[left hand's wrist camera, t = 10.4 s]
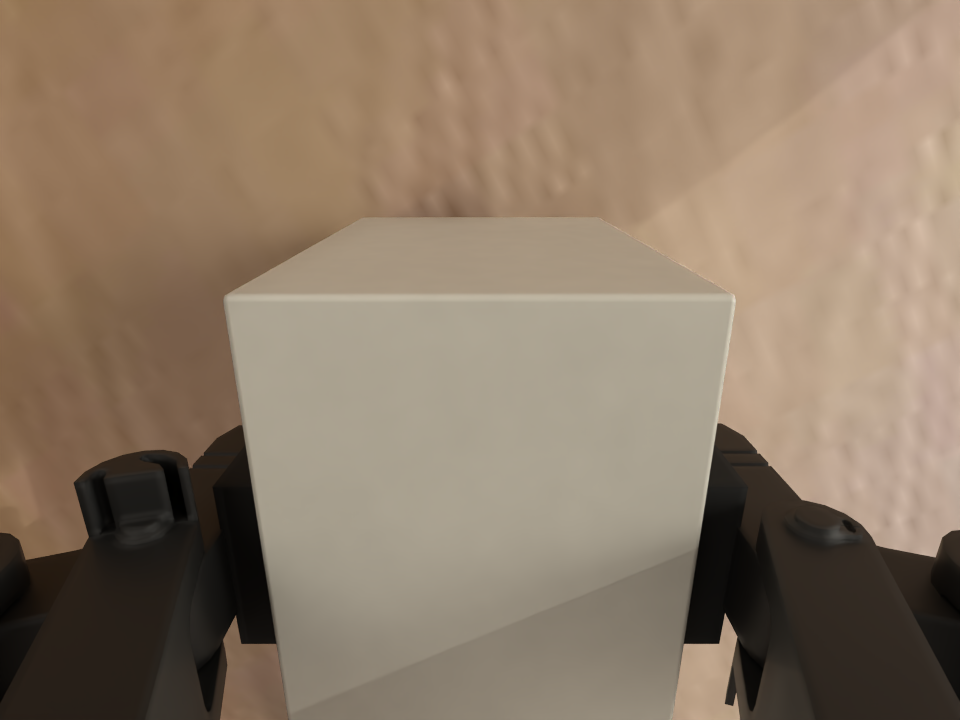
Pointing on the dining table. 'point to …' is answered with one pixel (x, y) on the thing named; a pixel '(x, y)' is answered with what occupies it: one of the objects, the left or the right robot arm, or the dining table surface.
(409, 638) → the bar
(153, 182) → the dining table surface
